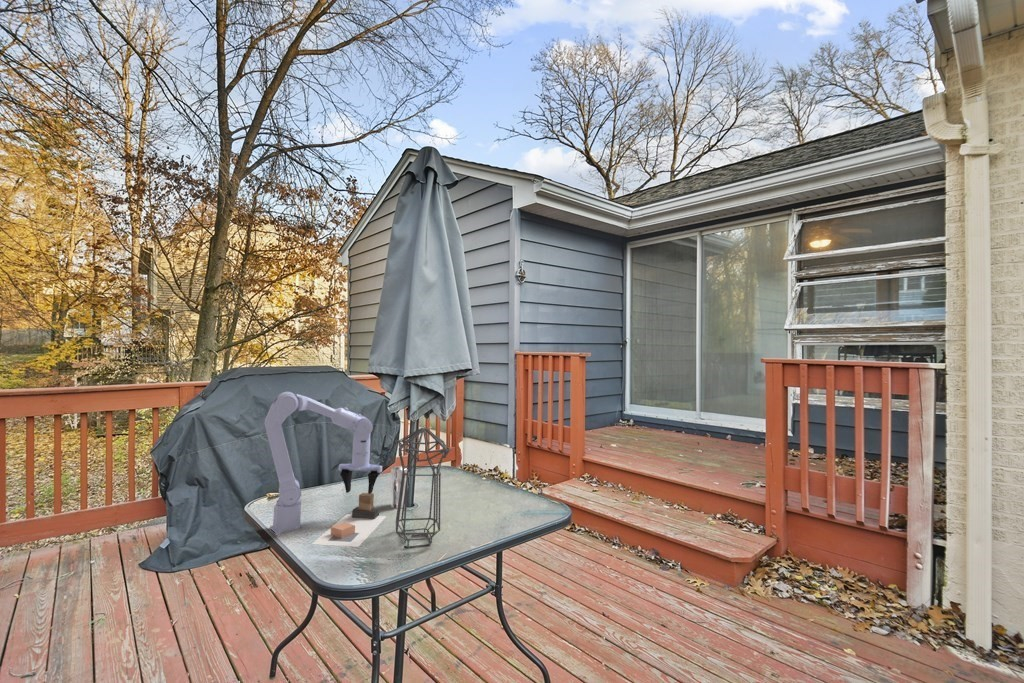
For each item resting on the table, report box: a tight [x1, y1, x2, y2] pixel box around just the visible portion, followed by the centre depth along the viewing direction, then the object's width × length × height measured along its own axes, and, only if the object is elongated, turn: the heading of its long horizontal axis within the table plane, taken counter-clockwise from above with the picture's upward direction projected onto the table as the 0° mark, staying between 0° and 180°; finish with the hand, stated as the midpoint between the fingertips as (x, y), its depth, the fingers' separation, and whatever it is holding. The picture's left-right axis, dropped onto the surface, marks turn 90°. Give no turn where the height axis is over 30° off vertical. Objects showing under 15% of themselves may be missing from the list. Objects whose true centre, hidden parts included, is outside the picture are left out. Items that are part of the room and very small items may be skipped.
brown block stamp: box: [351, 492, 380, 519], centre depth 158 cm, size 4×8×8 cm, turn 85°
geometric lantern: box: [395, 427, 452, 549], centre depth 143 cm, size 16×16×35 cm
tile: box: [330, 522, 355, 539], centre depth 142 cm, size 5×5×2 cm
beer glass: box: [389, 465, 407, 509], centre depth 171 cm, size 7×7×15 cm
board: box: [311, 513, 387, 548], centre depth 147 cm, size 26×14×1 cm, turn 177°
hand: (359, 492), depth 157 cm, fingers open, 7 cm apart
